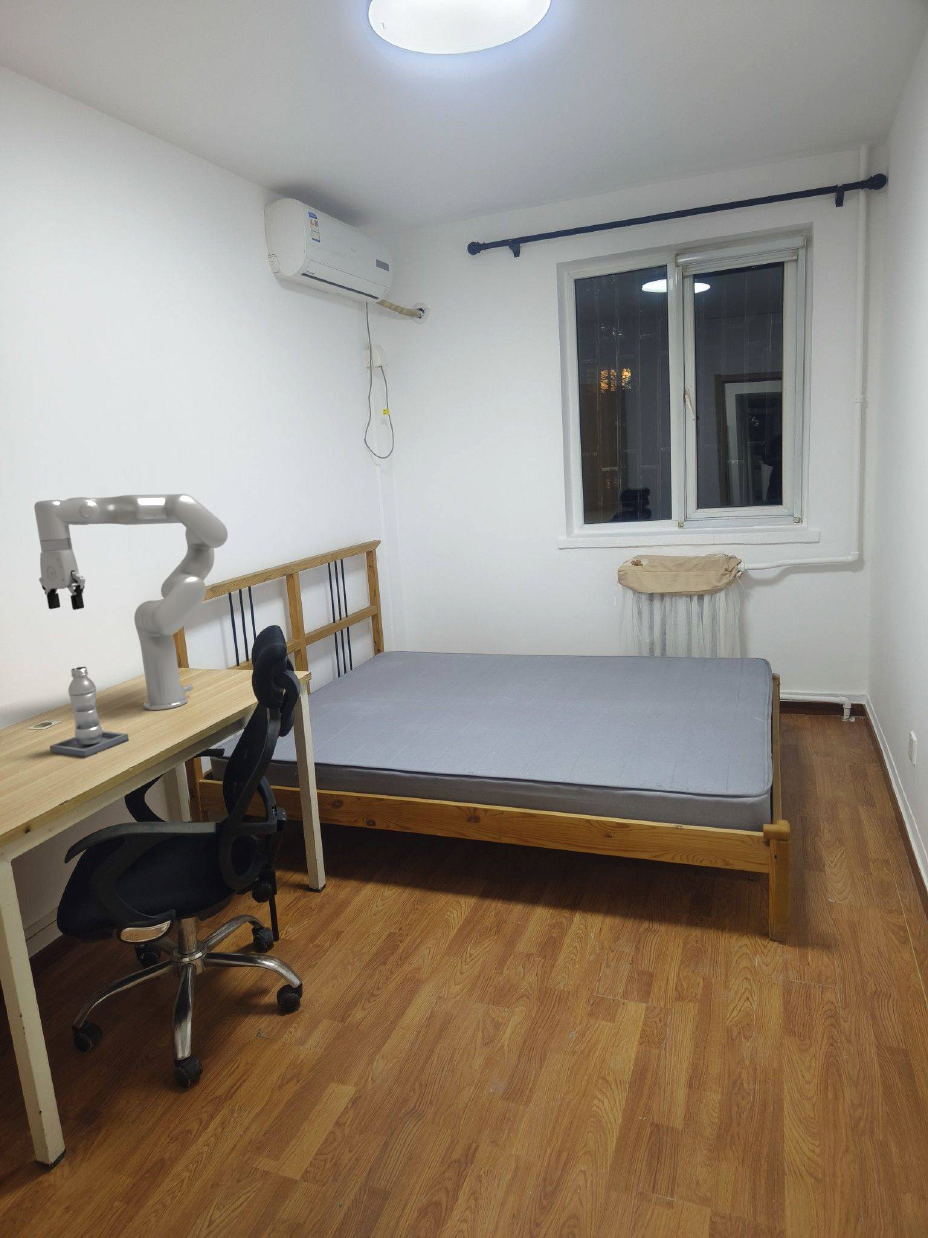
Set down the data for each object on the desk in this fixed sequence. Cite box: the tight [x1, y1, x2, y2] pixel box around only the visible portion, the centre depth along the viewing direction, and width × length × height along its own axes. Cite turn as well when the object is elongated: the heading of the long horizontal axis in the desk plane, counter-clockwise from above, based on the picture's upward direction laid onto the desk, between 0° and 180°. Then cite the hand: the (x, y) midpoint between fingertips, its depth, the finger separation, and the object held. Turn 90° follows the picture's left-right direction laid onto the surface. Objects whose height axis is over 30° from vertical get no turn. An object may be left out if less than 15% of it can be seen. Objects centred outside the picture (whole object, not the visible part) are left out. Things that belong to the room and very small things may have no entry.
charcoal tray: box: [49, 730, 130, 759], centre depth 202 cm, size 13×13×2 cm
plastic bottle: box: [67, 666, 103, 745], centre depth 200 cm, size 6×7×20 cm
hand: (66, 608), depth 215 cm, fingers open, 9 cm apart
